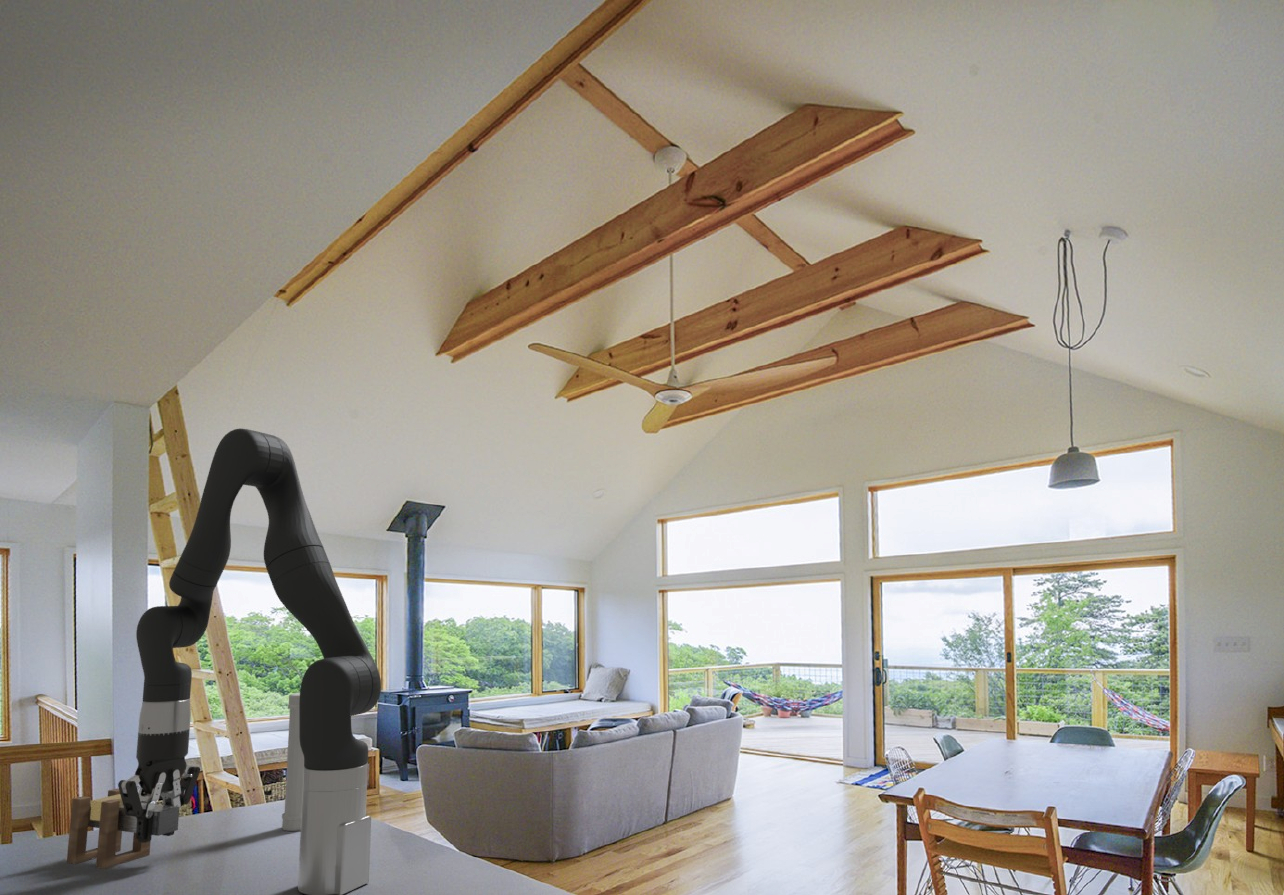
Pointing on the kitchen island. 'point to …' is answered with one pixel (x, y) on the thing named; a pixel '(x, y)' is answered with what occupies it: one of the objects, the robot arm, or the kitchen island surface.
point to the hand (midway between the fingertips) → (156, 837)
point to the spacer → (97, 806)
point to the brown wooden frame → (100, 835)
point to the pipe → (293, 769)
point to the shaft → (162, 816)
